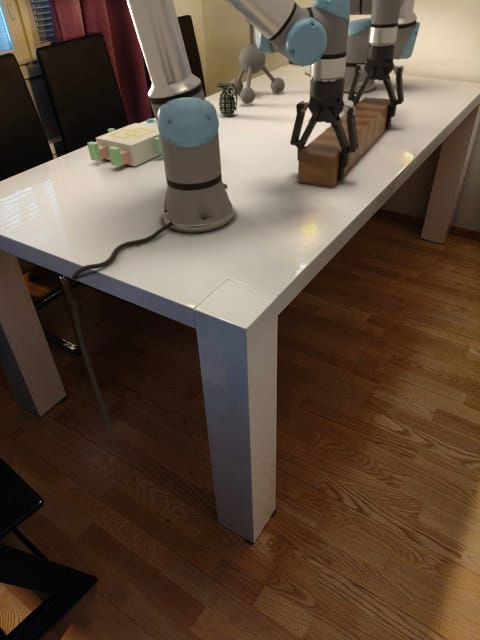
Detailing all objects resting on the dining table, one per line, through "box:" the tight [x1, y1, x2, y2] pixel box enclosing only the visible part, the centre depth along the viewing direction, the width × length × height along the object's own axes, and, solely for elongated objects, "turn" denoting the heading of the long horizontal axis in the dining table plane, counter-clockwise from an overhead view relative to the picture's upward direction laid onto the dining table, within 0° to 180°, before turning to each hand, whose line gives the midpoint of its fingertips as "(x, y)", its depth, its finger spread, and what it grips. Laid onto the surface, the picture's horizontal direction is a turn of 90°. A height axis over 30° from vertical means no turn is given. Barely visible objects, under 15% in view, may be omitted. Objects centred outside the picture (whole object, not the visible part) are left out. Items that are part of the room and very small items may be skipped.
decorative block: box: [86, 118, 163, 168], centre depth 141 cm, size 26×6×20 cm
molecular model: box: [229, 17, 286, 105], centre depth 179 cm, size 24×22×30 cm
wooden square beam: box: [297, 96, 391, 189], centre depth 134 cm, size 53×9×8 cm, turn 152°
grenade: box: [215, 82, 238, 117], centre depth 166 cm, size 7×6×10 cm
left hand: (321, 176), depth 121 cm, fingers closed on wooden square beam, 9 cm apart
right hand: (372, 126), depth 151 cm, fingers closed on wooden square beam, 9 cm apart
